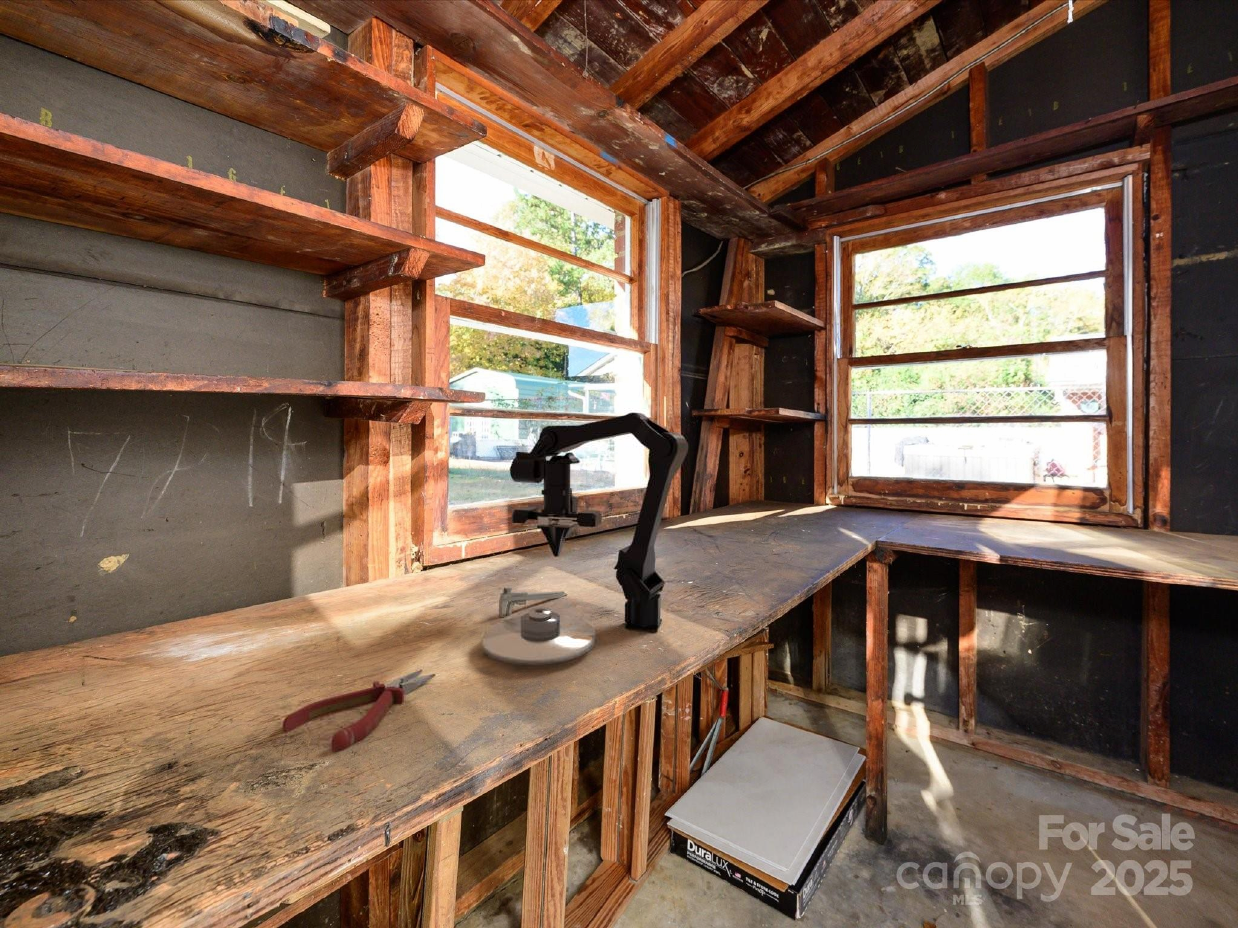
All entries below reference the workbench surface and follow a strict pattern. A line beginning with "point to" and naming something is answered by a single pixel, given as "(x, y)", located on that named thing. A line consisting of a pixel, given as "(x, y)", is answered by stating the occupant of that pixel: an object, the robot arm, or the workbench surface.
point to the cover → (540, 624)
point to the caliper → (522, 599)
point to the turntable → (538, 642)
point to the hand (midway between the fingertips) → (556, 556)
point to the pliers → (370, 721)
